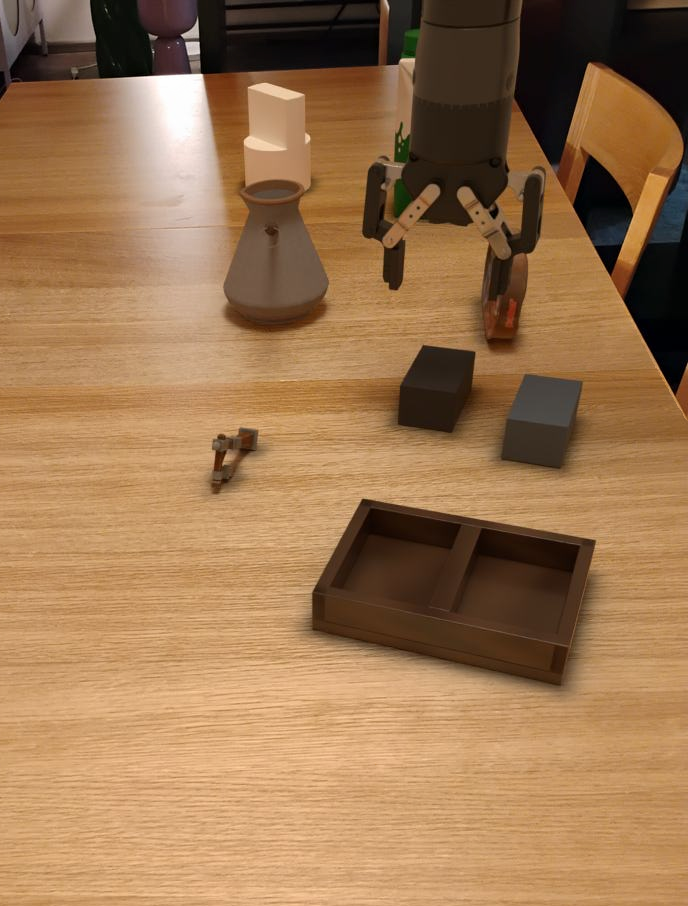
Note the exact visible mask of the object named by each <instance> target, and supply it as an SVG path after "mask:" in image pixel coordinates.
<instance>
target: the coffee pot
mask: <svg viewBox="0 0 688 906" xmlns="http://www.w3.org/2000/svg"><path fill="white" fill-rule="evenodd" d="M305 192H306V191H305V189H304V187H303V185H302V184H300V183H298V182H296V181H291V180H284V179H272V180H264V181H259V182H255V183H252V184H250V185H248V186H246V185H245V187H243V188H242V189H240V191H239V192H238V196H239V197H240V198H241V199H242V201H243V202H244V204H245V206H246V207H247V209H248V215H247V217H246V221H245V223H244V226H243V229H242V232H241V234H240V236H239V240H238V242H237V246H236V248H235V251H234V253H233V257H232V259H231V262H230V265H229V268H228V271H227V274H226V276H225V279H224V281H223V286H222V287H223V292H224V296H225V298H226V300H227V302H228V303H229V304H230V305H231V307H233V309H235V310H236V311H237V312H238V313H240V314H241V315H243V316H244V318H245V319H247V320H249V321H251V322H253V323H256V324H261V325H273V326H276V325H286V324H290V323H295V322H297V321H301V320H302V319H304V318H305V317H307V316H308V315H309V314H310V313H311V312H312V310H314V309H315V308H316V307H317V306H318V305H319V304H320V303H321V302H322V300H323V299H324V298H325V296H326V294H327V292H328V289H329V284H330V281H329V277H328V274H327V272H326V270H325V267H324V266H323V262H322V260H321V257H320V256H319V253H318V252H317V249H316V247H315V244H314V242H313V239H312V237H311V235H310V232H309V230H308V228H307V225H306V223H305V221H304V219H303V216H302V214H301V211H300V209H299V206H300V203H301V202H300V201H301V198H302V197H303V196H304V194H305Z"/></svg>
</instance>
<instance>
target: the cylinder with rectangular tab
mask: <svg viewBox="0 0 688 906" xmlns="http://www.w3.org/2000/svg"><path fill="white" fill-rule="evenodd" d="M247 105H248V106H247V108H248V109H247V110H248V127H249V128H248V130H249V134H248V136H247V137H246V138H244V139H243V154H244V155H243V157H244V158H243V159H244V177H245V178H244V179H245V187H246V186H248V185H250V184H252V183H255V182H259V181H264V180H272V179H284V180H291V181H296V182H298V183H300V184H302V185H303V187H304V189H305V192H306V191H307V190H309V189H310V188H311V184H312V182H311V180H312V178H311V174H312V173H311V172H312V171H311V170H312V169H311V162H312V161H311V136H310V135H309V134H308V133H307V132H306V95H305V94H304V93H301V92H298V91H295V90H292V89H288V88H284V87H281V86H278V85H274V84H271V83H268V82H261V83H257V84H253V85H250V86H247Z"/></svg>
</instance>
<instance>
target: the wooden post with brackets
mask: <svg viewBox="0 0 688 906" xmlns="http://www.w3.org/2000/svg"><path fill="white" fill-rule="evenodd" d="M226 435H227V434H226ZM226 435H225V434H224V433H219V434H217V437H216V438H212V442H211V451H215V453H214V460H213V461H214V462H213V470H211V477H210V478H211V479H212V480H211V487H210V488H214V489H220V488H221V483H222V481H221V480H222V479H224V480H229V479H230V478H232V477H233V475H234V465H228V464H223V463H224V461H225V458H226V455H227V452H228V450H231V451H235V450H238V449H248V450H254V451H257V448H258V439H259V429H256V428H250V427H243V426H239V427H238V433H237V435H235V436H234V435H231V436H226Z"/></svg>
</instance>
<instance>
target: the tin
mask: <svg viewBox="0 0 688 906" xmlns="http://www.w3.org/2000/svg"><path fill="white" fill-rule="evenodd" d="M510 228H511V229H512V231H513V233H514V234H517V233H521V229H520V228H517V227H510ZM495 255H496V254H495V252H494V250H493V249H492V247H491V245H490V244H489V243H488V246H487V251H486V256H485V262H484V267H483V268H484V269H483V277H482V285H481V308H482V316H483V321H484V322H483V323H484V330H485V336H486V338H487V339H488V340H491V339H501V340H511V339H514V338H515V337H516V335H517V333H518V331H519V327H520V318H521V312H522V308H523V303H524V301H525V298H526V294H527V289H528V281H529V280H528V279H529V277H528V276H529V260H528V254H525V253H521V254H517V255H515V256H514V259H513V266H512V273H511V281H510V284H509V286H508V289H507V290H506V292H505V294H504V295H500V296H499V298H498V300H497V302H496V301H488V295H489V287H490V279H491V271H492V263H493V258H494V256H495Z"/></svg>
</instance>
